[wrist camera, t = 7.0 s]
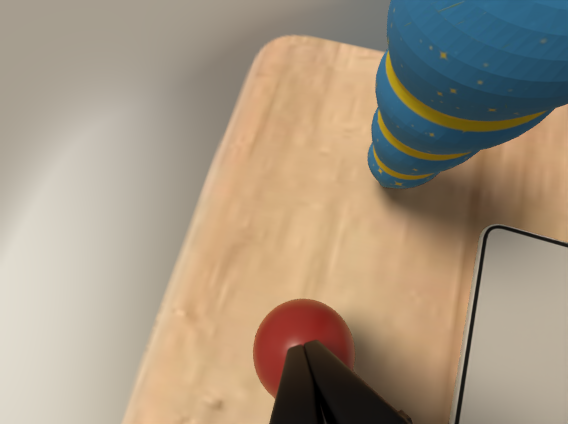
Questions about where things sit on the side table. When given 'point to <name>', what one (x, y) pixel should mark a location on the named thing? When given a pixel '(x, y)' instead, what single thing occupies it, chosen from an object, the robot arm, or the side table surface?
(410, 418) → the switch bracket
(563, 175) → the side table surface
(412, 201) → the side table surface
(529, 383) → the smartphone
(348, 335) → the switch lever
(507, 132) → the ornament
